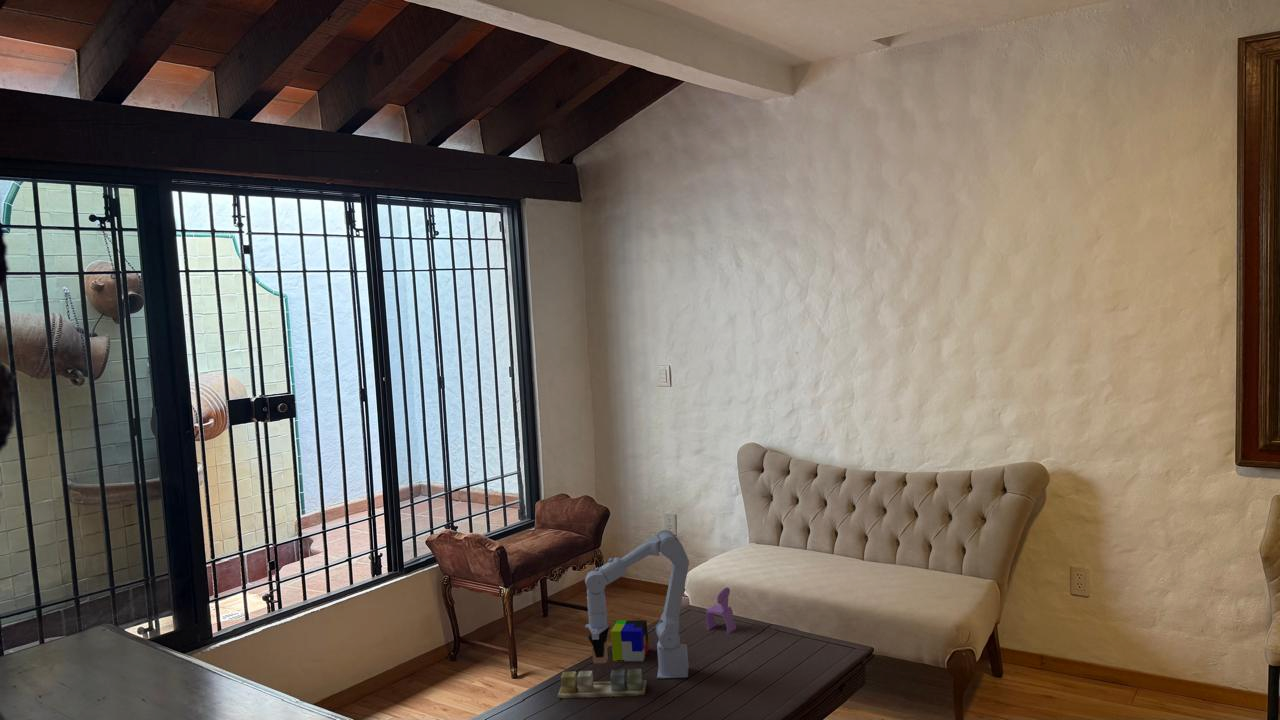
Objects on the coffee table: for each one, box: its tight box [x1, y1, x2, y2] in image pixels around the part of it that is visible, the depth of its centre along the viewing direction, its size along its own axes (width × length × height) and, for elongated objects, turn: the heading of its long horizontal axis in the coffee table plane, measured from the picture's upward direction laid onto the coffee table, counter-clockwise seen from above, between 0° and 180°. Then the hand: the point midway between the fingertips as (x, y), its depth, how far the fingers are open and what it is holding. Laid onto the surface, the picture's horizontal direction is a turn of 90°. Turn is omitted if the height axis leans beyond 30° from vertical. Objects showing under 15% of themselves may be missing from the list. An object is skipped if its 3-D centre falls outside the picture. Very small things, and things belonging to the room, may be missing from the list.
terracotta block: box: [591, 641, 609, 664], centre depth 273 cm, size 4×4×5 cm
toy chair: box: [705, 586, 738, 635], centre depth 310 cm, size 8×9×15 cm
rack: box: [557, 668, 647, 699], centre depth 267 cm, size 26×8×6 cm, turn 85°
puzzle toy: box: [610, 619, 650, 662], centre depth 293 cm, size 10×10×10 cm
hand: (600, 653), depth 273 cm, fingers closed on terracotta block, 4 cm apart
